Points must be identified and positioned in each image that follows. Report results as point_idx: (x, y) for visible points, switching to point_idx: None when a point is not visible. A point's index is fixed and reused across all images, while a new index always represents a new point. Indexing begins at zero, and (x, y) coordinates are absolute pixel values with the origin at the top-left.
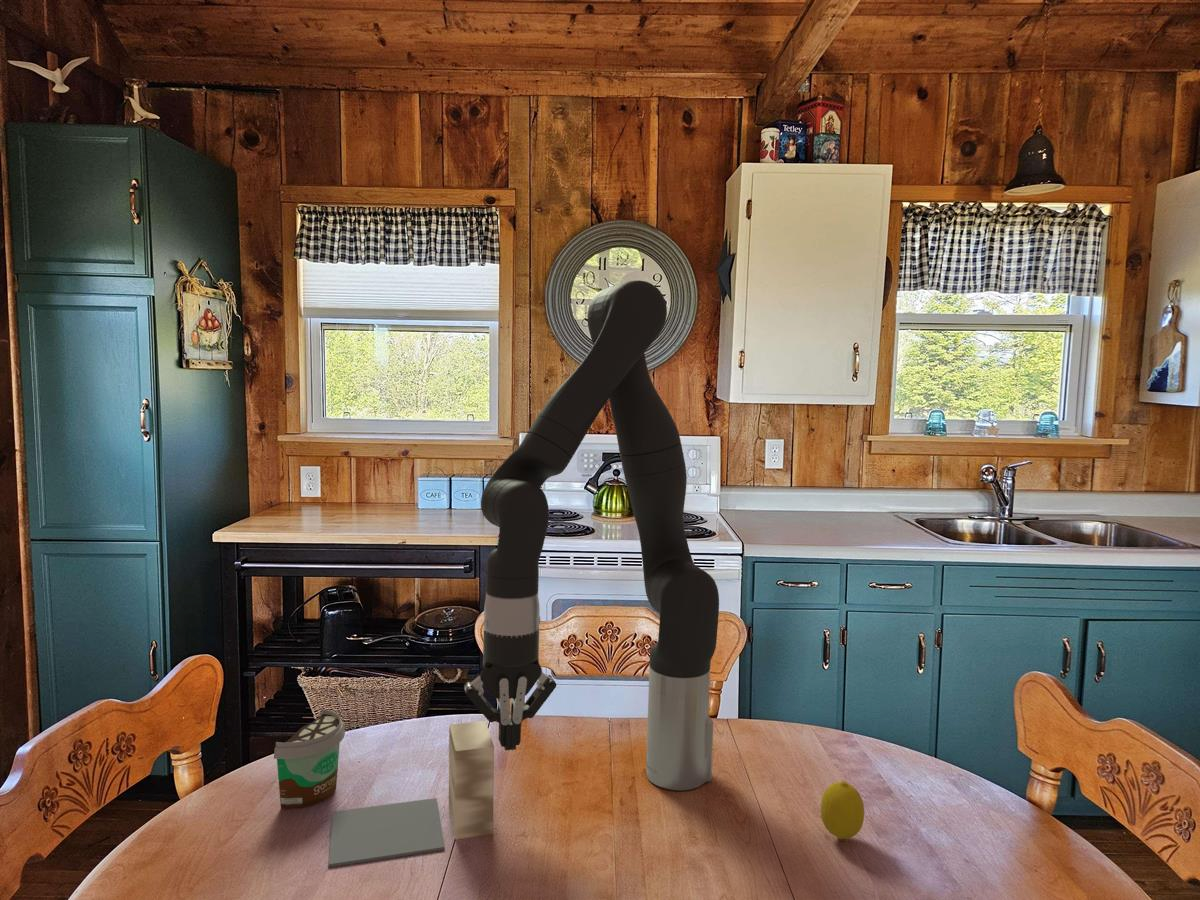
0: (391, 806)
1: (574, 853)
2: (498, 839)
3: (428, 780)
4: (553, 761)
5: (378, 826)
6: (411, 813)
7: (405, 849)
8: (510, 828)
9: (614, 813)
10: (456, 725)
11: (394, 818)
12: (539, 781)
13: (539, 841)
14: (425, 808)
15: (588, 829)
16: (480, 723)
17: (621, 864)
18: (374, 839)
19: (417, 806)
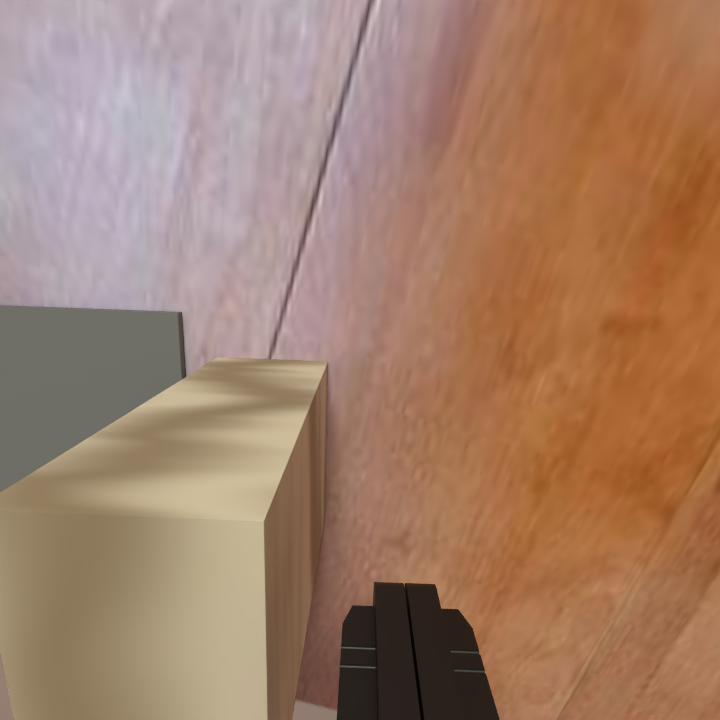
0: (36, 323)
1: (498, 640)
2: (334, 544)
3: (157, 164)
4: (639, 151)
5: (11, 420)
6: (101, 379)
7: None
8: (375, 509)
9: (674, 522)
10: (31, 538)
11: (52, 392)
12: (534, 286)
13: (432, 579)
14: (142, 364)
15: (572, 568)
16: (220, 555)
17: (584, 699)
18: (9, 476)
19: (118, 345)
